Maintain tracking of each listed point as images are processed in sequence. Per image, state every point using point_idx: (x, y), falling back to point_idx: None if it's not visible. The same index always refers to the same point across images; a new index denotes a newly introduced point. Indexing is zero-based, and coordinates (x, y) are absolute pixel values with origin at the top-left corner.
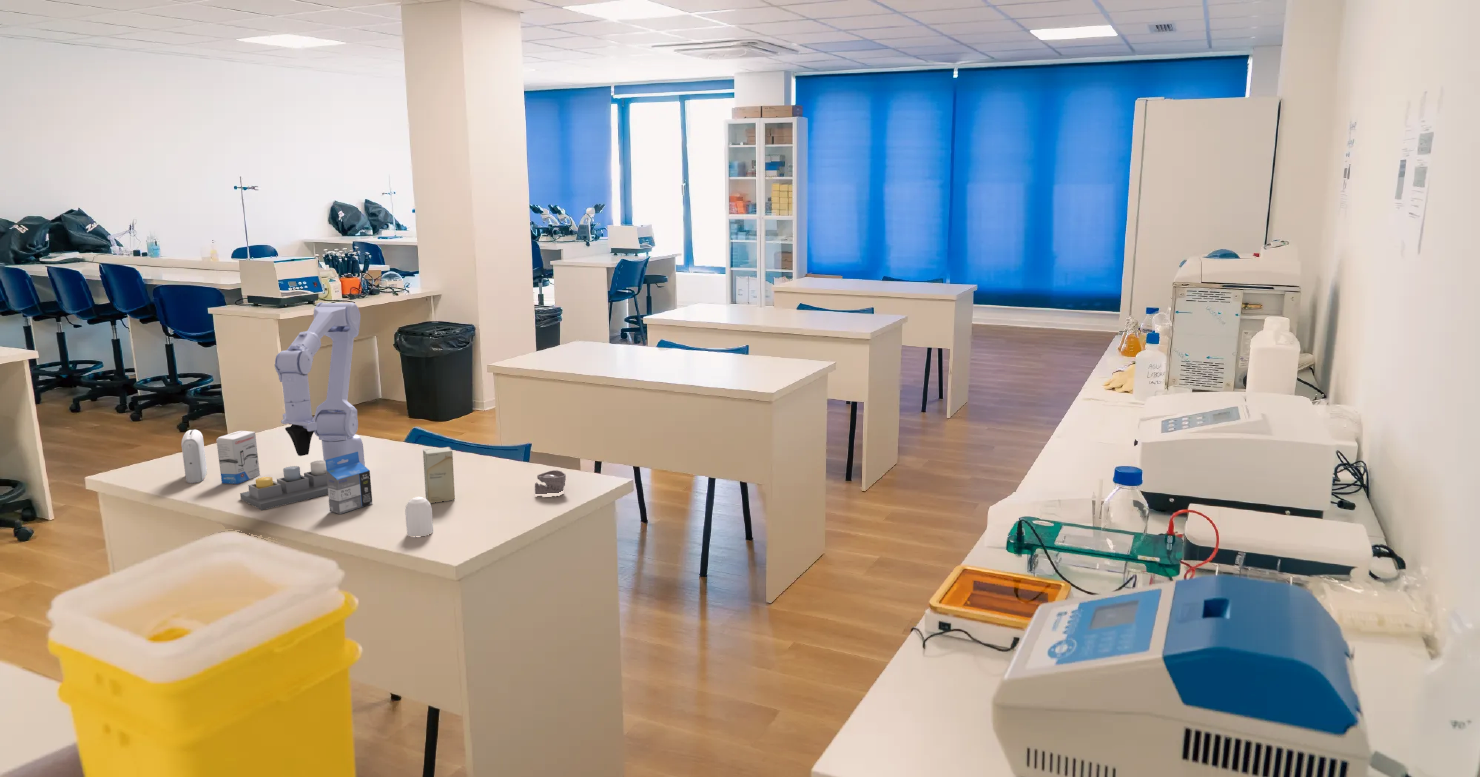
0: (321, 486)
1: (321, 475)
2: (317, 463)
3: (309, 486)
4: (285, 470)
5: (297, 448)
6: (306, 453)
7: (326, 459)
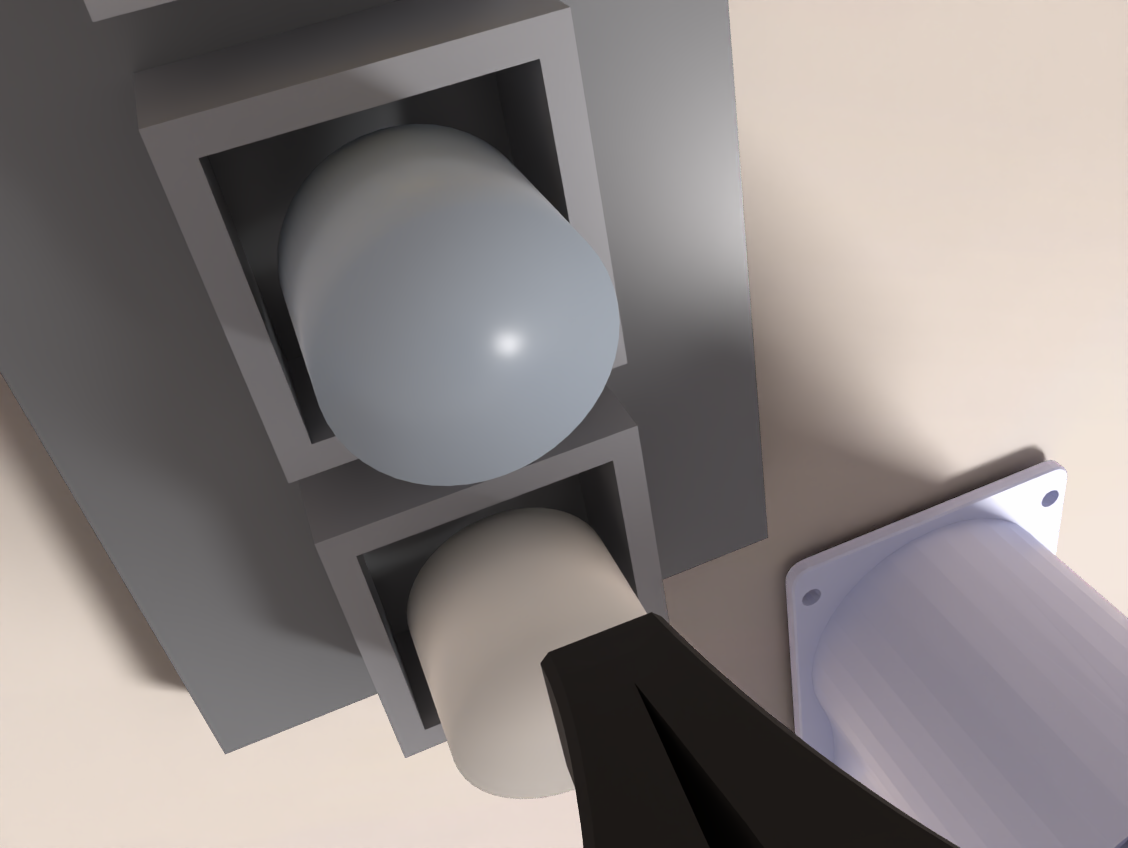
0: (270, 530)
1: (354, 631)
2: (522, 708)
3: None
4: (375, 236)
5: (599, 781)
6: (571, 770)
7: (999, 636)
